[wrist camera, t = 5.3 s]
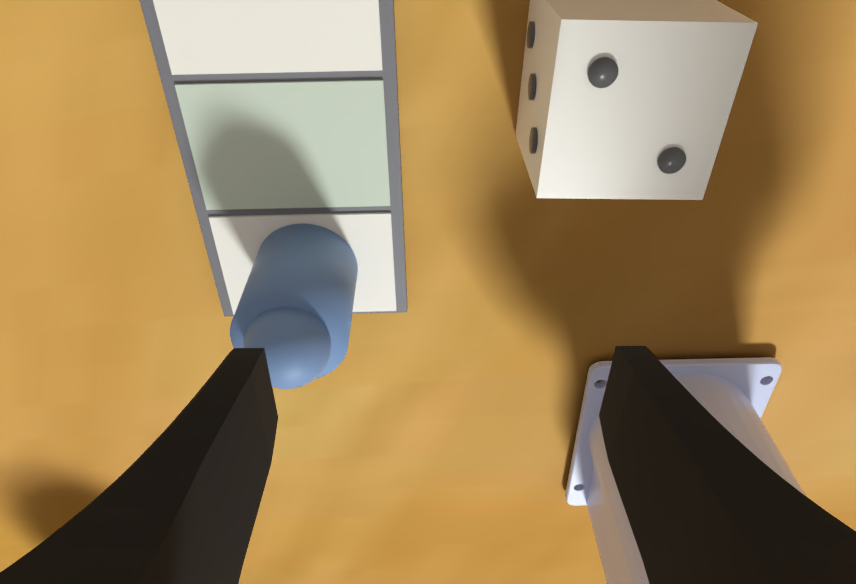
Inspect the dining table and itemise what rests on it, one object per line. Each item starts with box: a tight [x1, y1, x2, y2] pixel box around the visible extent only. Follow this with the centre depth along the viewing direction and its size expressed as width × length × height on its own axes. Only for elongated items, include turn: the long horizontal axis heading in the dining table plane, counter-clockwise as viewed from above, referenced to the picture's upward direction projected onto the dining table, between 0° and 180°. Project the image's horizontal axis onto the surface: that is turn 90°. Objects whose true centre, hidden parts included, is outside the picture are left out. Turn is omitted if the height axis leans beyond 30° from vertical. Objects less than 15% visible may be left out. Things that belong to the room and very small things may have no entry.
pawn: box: [230, 224, 358, 389], centre depth 20 cm, size 4×4×6 cm
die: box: [515, 0, 758, 200], centre depth 17 cm, size 4×5×5 cm
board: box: [140, 0, 407, 316], centre depth 19 cm, size 18×7×1 cm, turn 1°
